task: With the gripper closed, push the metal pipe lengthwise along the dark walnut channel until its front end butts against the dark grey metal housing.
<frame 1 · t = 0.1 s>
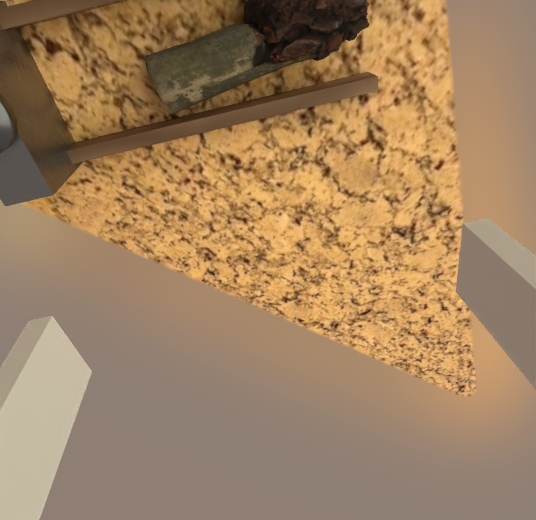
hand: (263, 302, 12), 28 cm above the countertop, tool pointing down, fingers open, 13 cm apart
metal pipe: (253, 34, 33), on the countertop
channel rails: (204, 51, 33), on the countertop
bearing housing: (26, 95, 33), on the countertop
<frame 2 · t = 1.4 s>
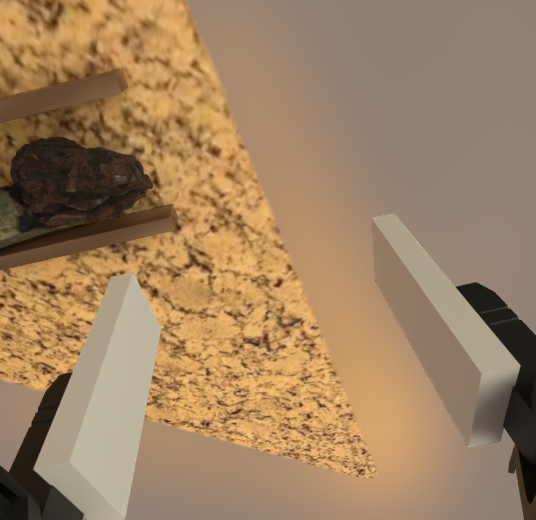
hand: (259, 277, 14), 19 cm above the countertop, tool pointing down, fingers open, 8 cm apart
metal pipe: (42, 185, 31), on the countertop
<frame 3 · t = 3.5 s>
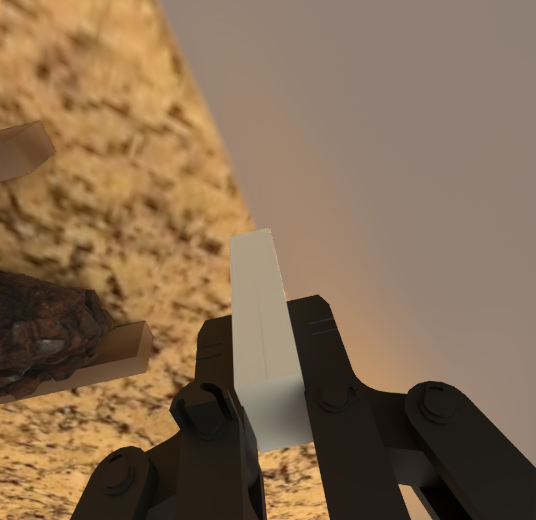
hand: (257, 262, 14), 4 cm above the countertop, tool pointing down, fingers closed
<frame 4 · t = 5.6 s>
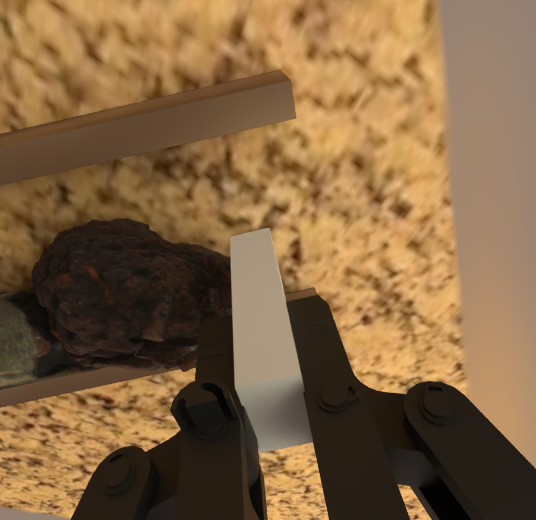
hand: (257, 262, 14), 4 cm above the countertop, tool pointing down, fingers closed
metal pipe: (75, 279, 19), on the countertop, touching gripper
channel rails: (9, 274, 18), on the countertop
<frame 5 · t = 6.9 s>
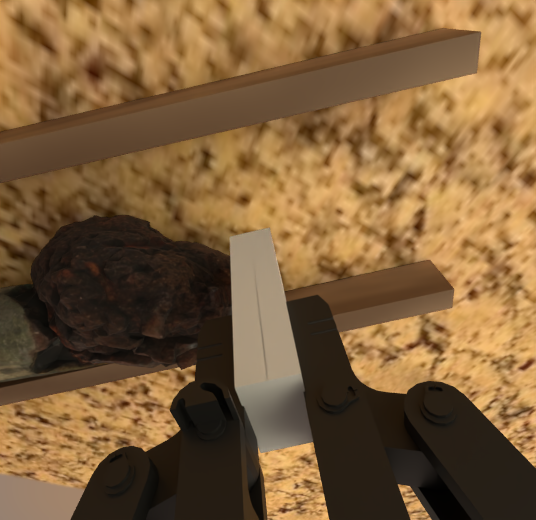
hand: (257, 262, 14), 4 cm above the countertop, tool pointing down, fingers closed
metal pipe: (74, 275, 19), on the countertop, touching gripper
channel rails: (137, 243, 18), on the countertop
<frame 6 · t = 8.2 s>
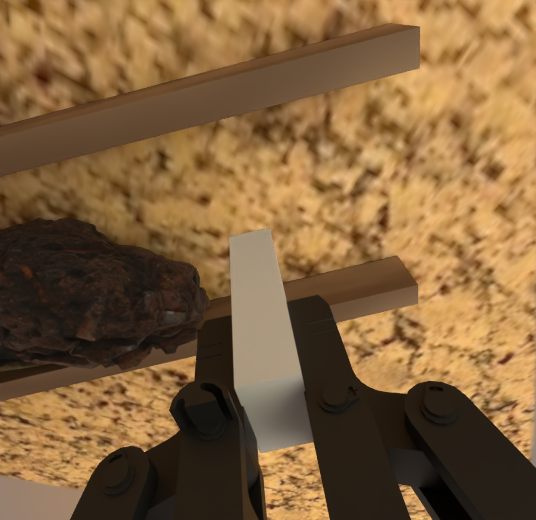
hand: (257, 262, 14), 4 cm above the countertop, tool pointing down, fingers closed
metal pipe: (24, 275, 19), on the countertop
channel rails: (100, 245, 18), on the countertop
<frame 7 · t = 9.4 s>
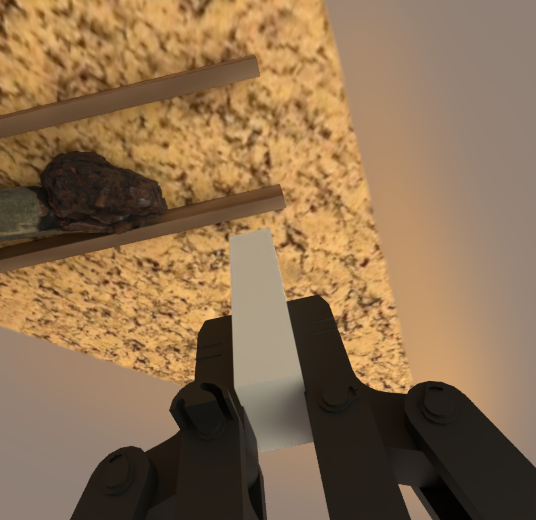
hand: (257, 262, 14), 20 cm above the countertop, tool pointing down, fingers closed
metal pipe: (62, 188, 33), on the countertop
channel rails: (108, 170, 32), on the countertop
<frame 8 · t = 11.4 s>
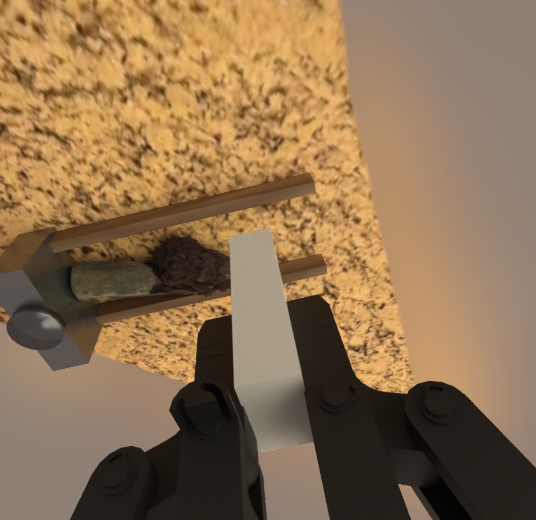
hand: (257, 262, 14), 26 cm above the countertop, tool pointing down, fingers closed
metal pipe: (161, 258, 45), on the countertop
channel rails: (198, 247, 44), on the countertop
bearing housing: (66, 277, 45), on the countertop
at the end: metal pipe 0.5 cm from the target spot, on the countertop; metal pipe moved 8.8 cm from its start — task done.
